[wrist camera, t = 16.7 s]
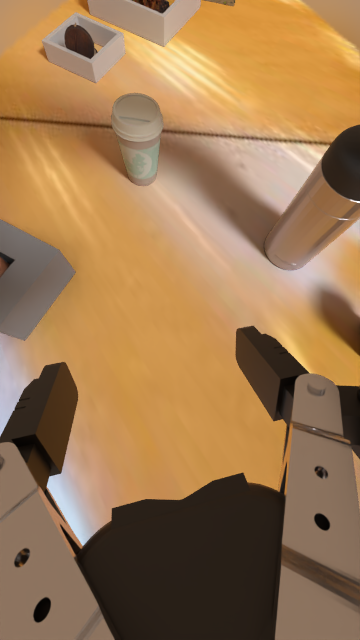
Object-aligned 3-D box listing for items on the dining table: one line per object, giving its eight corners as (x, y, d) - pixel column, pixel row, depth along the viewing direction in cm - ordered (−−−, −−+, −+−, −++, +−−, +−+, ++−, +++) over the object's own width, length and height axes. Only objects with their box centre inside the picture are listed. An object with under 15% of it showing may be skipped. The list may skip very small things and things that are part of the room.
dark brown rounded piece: (98, 49, 59) (89, 4, 52) (98, 71, 56) (89, 27, 49) (64, 48, 58) (51, 2, 51) (63, 70, 56) (49, 25, 49)
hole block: (9, 237, 43) (-19, 209, 36) (75, 272, 42) (59, 250, 35) (-47, 300, 39) (-91, 282, 32) (24, 340, 38) (-5, 330, 31)
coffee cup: (112, 175, 48) (97, 109, 37) (140, 152, 50) (133, 82, 39) (144, 198, 47) (139, 138, 36) (171, 173, 49) (174, 109, 38)
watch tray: (80, 33, 60) (75, 12, 56) (125, 53, 59) (123, 33, 55) (48, 61, 56) (41, 40, 53) (96, 83, 55) (91, 63, 52)
